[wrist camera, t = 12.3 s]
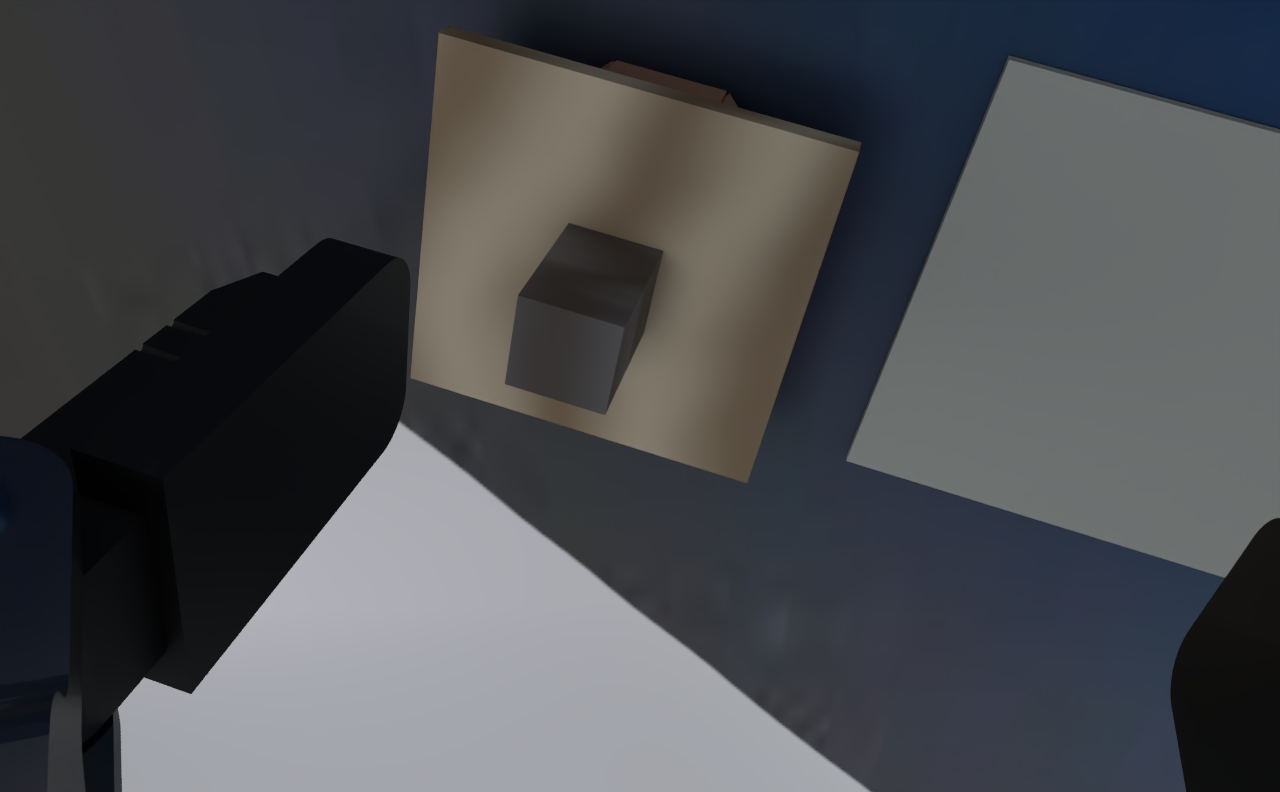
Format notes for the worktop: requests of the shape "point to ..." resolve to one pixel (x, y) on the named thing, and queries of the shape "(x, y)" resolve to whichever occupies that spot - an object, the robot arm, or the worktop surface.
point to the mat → (1098, 323)
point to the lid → (617, 250)
